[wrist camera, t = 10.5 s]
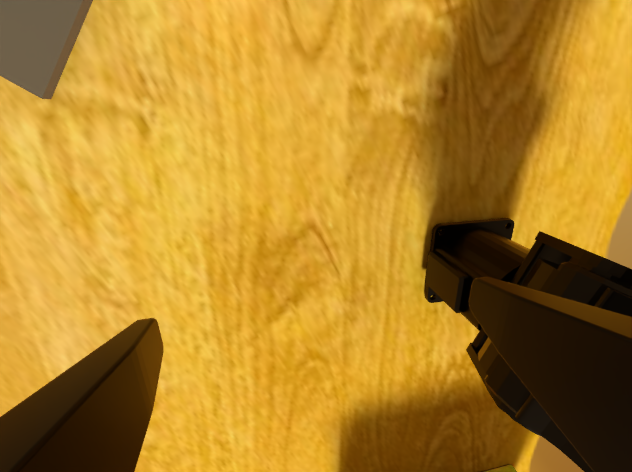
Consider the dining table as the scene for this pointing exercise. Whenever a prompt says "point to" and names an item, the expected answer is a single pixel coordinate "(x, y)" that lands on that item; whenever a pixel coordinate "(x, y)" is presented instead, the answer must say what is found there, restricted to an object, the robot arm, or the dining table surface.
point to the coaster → (38, 41)
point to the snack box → (503, 469)
